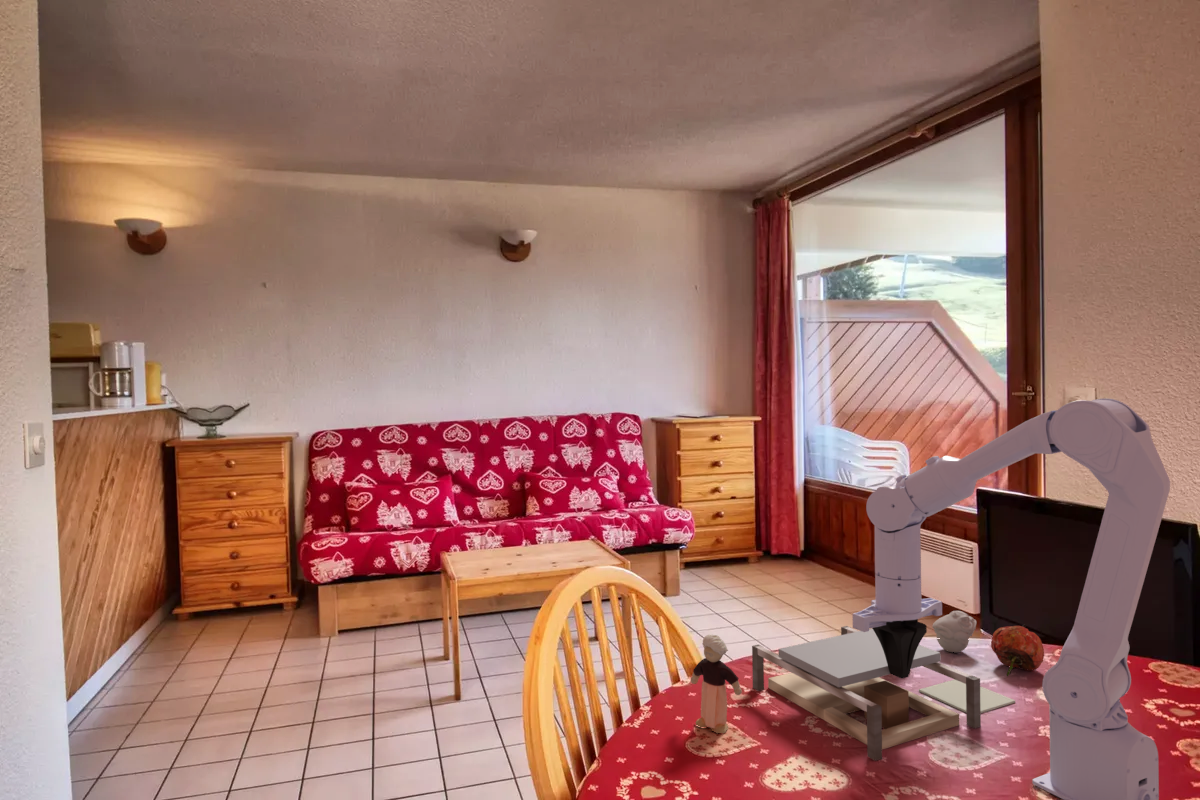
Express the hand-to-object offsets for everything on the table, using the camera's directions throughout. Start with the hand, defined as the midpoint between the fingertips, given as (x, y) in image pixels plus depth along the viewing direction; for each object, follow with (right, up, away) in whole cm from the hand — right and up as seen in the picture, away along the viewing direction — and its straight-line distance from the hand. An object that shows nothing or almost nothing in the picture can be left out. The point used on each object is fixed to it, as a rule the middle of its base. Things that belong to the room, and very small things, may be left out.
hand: (899, 675), depth 95 cm
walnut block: (-1, -7, +2) cm, 8 cm away
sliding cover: (-3, 0, +7) cm, 7 cm away
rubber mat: (+14, -7, +9) cm, 18 cm away
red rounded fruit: (+27, -7, +18) cm, 33 cm away
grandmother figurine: (-25, -8, +1) cm, 26 cm away
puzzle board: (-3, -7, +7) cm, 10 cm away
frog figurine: (+21, -7, +27) cm, 34 cm away
